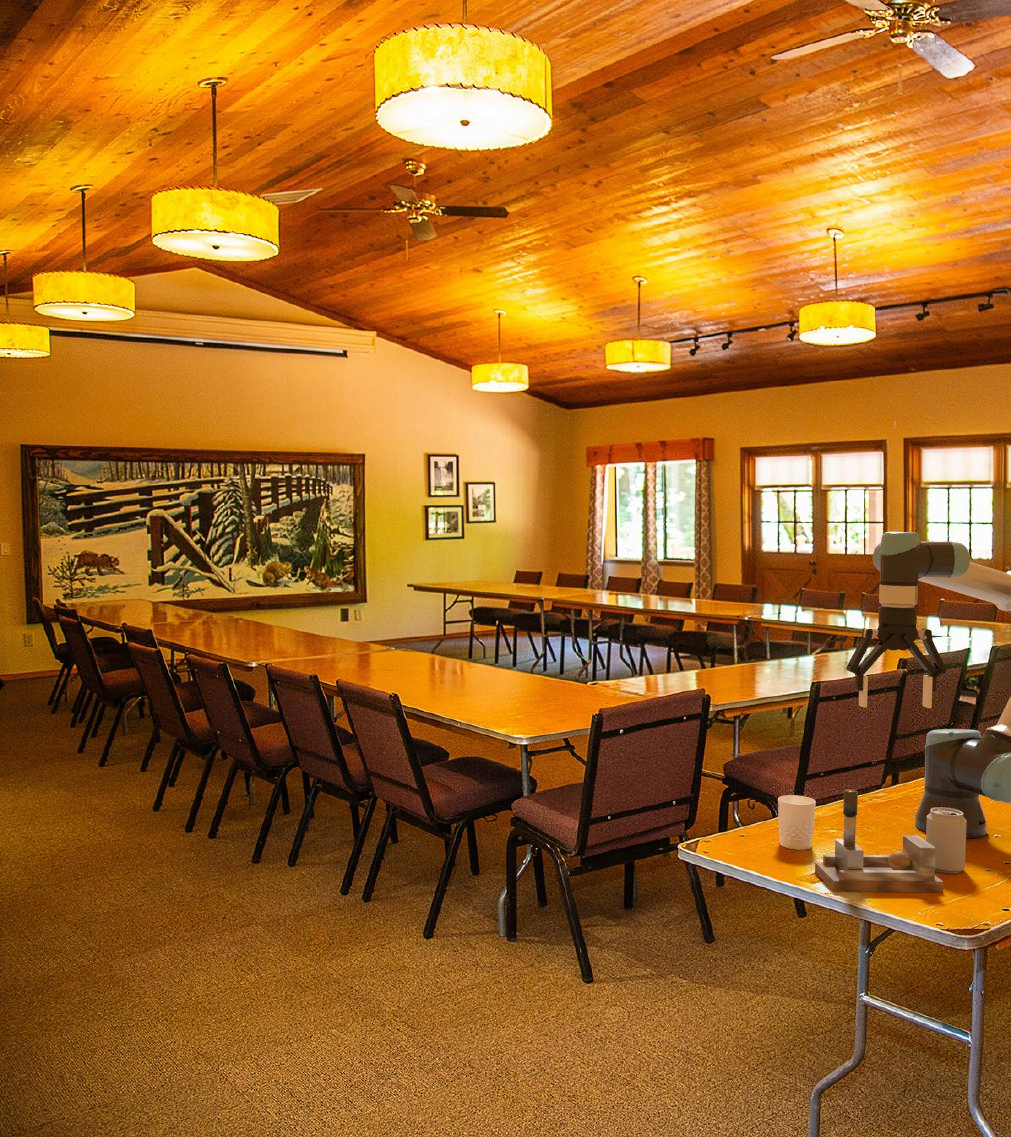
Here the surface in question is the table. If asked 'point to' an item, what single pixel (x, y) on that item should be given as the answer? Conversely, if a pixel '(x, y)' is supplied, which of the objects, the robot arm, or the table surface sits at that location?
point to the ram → (849, 836)
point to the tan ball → (899, 861)
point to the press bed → (886, 871)
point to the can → (947, 839)
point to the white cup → (796, 821)
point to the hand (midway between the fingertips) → (894, 706)
